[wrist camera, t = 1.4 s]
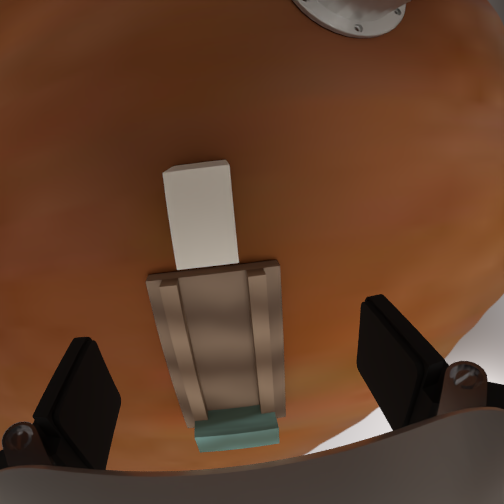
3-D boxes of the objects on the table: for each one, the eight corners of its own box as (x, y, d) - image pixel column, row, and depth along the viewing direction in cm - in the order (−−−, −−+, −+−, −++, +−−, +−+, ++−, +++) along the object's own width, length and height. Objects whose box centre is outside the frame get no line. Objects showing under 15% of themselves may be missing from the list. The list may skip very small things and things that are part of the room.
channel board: (148, 274, 29) (136, 302, 24) (276, 259, 30) (290, 285, 25) (188, 419, 36) (187, 452, 31) (283, 408, 37) (292, 440, 32)
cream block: (173, 166, 26) (162, 173, 21) (225, 159, 27) (229, 164, 21) (183, 244, 29) (177, 270, 23) (233, 238, 29) (238, 263, 23)
